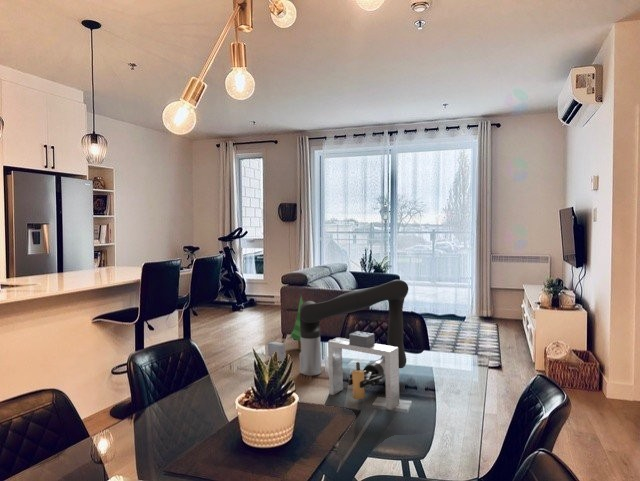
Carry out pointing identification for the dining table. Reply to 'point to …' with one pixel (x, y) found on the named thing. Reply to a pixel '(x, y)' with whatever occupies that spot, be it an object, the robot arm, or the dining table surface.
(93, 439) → the dining table surface
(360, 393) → the orange plug
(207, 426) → the dining table surface
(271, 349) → the medicine box
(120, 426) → the dining table surface
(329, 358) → the white arch
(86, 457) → the dining table surface
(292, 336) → the decorative tree
